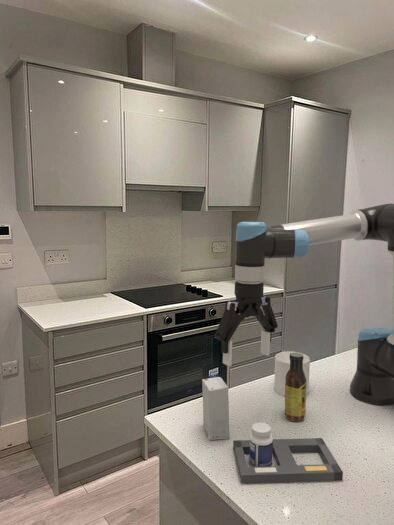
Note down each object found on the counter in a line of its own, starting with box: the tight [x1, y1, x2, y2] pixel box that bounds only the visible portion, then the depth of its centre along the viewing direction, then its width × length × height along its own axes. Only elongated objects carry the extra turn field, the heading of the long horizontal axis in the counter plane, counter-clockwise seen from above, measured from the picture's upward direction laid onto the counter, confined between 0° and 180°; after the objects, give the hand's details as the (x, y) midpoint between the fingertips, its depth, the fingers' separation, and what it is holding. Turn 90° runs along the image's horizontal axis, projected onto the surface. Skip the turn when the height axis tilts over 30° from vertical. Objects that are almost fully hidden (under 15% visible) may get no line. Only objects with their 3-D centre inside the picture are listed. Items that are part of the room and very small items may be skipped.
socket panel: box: [232, 437, 344, 485], centre depth 101 cm, size 24×14×2 cm, turn 93°
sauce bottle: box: [284, 351, 307, 422], centre depth 122 cm, size 7×6×20 cm
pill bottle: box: [248, 422, 274, 467], centre depth 101 cm, size 6×6×10 cm
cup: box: [273, 351, 311, 397], centre depth 141 cm, size 12×12×12 cm
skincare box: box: [201, 376, 230, 441], centre depth 115 cm, size 8×6×15 cm
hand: (246, 359), depth 108 cm, fingers open, 13 cm apart
